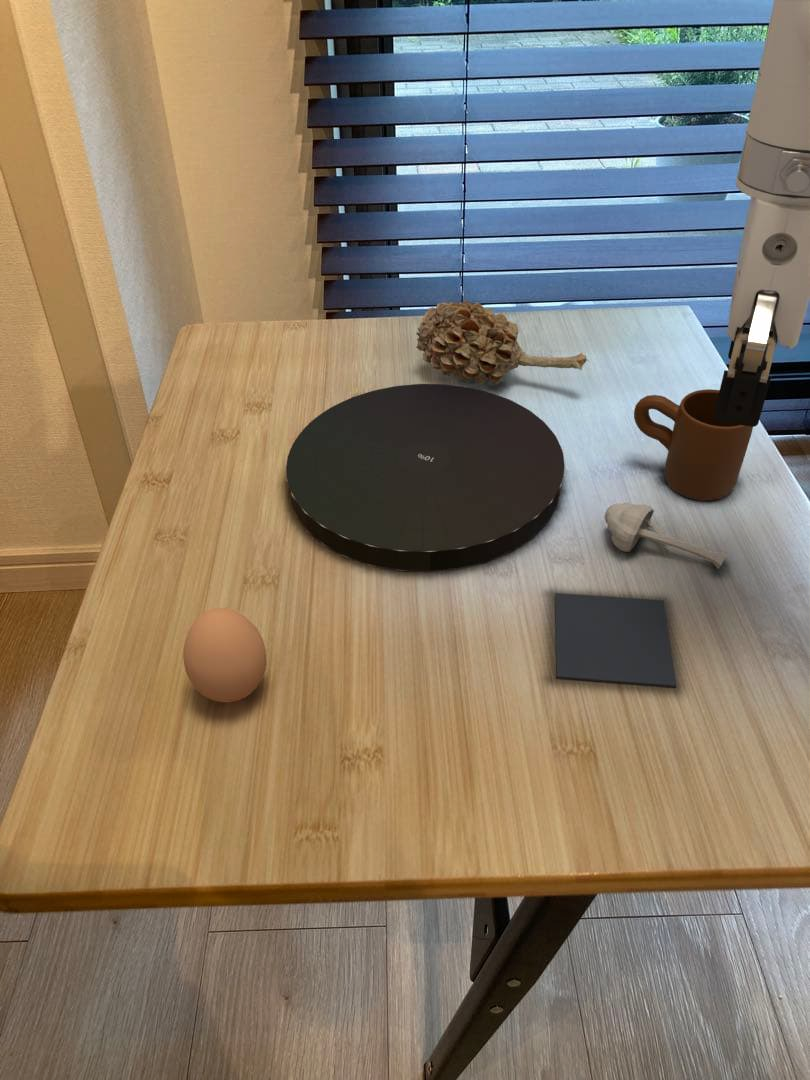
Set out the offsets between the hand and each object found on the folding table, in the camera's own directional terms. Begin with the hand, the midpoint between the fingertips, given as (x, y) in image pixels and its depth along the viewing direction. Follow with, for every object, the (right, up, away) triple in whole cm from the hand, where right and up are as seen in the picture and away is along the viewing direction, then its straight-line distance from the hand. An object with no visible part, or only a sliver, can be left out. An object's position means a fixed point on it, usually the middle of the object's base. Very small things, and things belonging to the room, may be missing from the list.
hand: (741, 389), depth 67 cm
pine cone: (-15, +8, +41) cm, 44 cm away
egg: (-41, -25, +5) cm, 49 cm away
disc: (-25, -5, +27) cm, 36 cm away
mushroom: (-1, -13, +17) cm, 22 cm away
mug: (+3, -5, +26) cm, 27 cm away
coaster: (-8, -21, +9) cm, 24 cm away
